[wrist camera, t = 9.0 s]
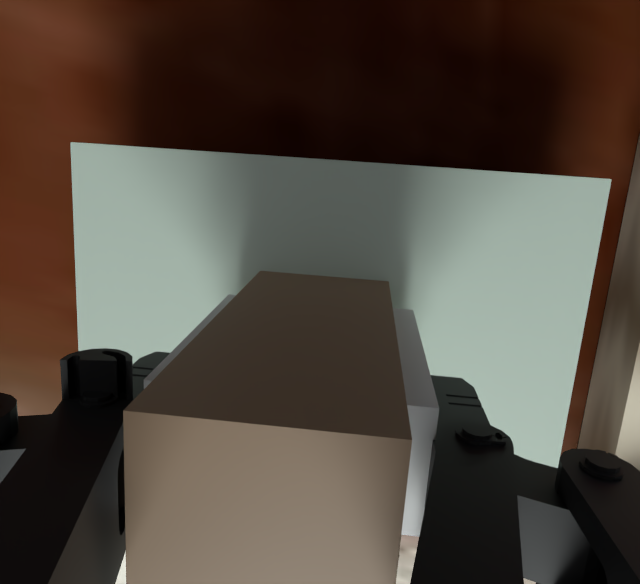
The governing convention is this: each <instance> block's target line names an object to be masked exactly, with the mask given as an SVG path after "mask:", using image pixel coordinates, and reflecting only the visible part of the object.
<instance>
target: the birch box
mask: <svg viewBox="0 0 640 584" xmlns="http://www.w3.org/2000/svg"><path fill="white" fill-rule="evenodd" d="M577 449H591V450H602V451H606V453H608V452H609V453H612V454H614V455H617V456H618V457H619V458H621V459H623V460H625V461H627V462H629V463H630V464H632V465H633V466H634V467H635V468H637V469H638V470H639V471H640V134H639V139H638V144H637V150H636V155H635V160H634V165H633V170H632V175H631V180H630V185H629V190H628V195H627V200H626V205H625V210H624V215H623V220H622V225H621V230H620V235H619V241H618V246H617V251H616V256H615V261H614V266H613V271H612V276H611V281H610V286H609V291H608V296H607V301H606V306H605V311H604V316H603V321H602V326H601V332H600V337H599V342H598V347H597V352H596V357H595V362H594V367H593V372H592V377H591V382H590V387H589V392H588V397H587V402H586V407H585V412H584V417H583V423H582V428H581V433H580V438H579V443H578V448H577Z"/></svg>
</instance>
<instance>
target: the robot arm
mask: <svg viewBox="0 0 640 584" xmlns="http://www.w3.org/2000/svg"><path fill="white" fill-rule="evenodd" d="M235 296H236V295H231V294H228V295H227V296H226V297H225V298H224V299H223V300H222V301H221V303H220V304H219V305H218V306H217V307H216V308H215V309H214V310H213V311H212V312H211V313H210V314H209V315H208V316H207V317H206V318H205V319H204V320H203V321H202V322H201V323H200V324H199V325H198V326H197V327H196V328H195V329H194V330H193V331H192V332H191V333H190V334H189V335H188V336H187V337H186V338H185V339H184V340H183V341H182V342H181V343H180V344H179V345H178V346H177V347H176V348H175V349H174V350H173V351H172V352H171V353H168V352H157V351H156V352H153V353H151V354H148V355H146V356H143V357H141V358H139V359H138V360H137V361H136V362H135V363H134V364H133V361H132V355H130V354H129V353H128V352H125V351H122V350H118V349H108V348H100V349H88V350H82V351H77V352H75V353H72V354H69V355H67V356H65V357H64V358H62V359H61V360H60V366H61V384H62V401H61V402H60V404H59V405H58V407H57V408H56V409H55V411H54V412H53V413H52V414H48V415H32V416H18V412H17V400H16V399H15V398H14V397H13V396H11V395H8V394H4V393H0V584H115V582H116V579H117V576H118V573H119V569H120V566H121V563H122V560H123V557H124V553H125V550H126V534H125V482H124V429H123V410H124V409H125V408H126V407H127V406H128V405H129V404H130V403H131V402H132V401H133V400H134V399H135V398H136V397H137V396H138V395H139V394H140V393H141V392H142V391H143V390H144V389H145V388H146V387H147V386H148V385H149V384H150V383H151V382H152V381H153V380H154V379H155V378H156V377H157V376H158V374H159V373H160V372H161V371H162V370H163V369H164V368H165V367H166V366H167V365H168V364H169V363H170V362H171V361H172V360H173V359H174V358H175V357H176V356H177V355H178V354H179V353H180V352H181V351H182V350H183V349H184V348H185V347H186V346H187V345H188V344H189V343H190V342H191V341H192V340H193V339H194V338H195V337H196V336H197V335H198V334H199V333H200V332H201V331H202V330H203V329H204V328H205V327H206V325H207V324H208V323H209V322H210V321H211V320H212V319H213V318H214V317H215V316H216V315H217V314H218V313H219V312H220V311H221V310H222V309H223V308H224V307H225V306H226V305H227V304H228V303H229V302H230V301H231V300H232V299H233V298H234V297H235ZM393 314H394V320H395V327H396V334H397V341H398V347H399V354H400V361H401V368H402V375H403V381H404V388H405V395H406V402H407V408H408V415H409V422H410V429H411V435H412V446H411V455H410V463H409V472H408V481H407V489H406V498H405V507H404V515H403V524H402V533H401V535H410V536H418V537H419V541H418V547H417V552H416V557H415V562H414V567H413V573H412V578H411V583H410V584H524V580H523V578H525V579H528V580H531V581H534V582H536V584H640V471H639V470H638V469H637V468H635V467H634V466H633V465H632V464H630V463H629V462H627V461H625V460H623V459H621V458H619V457H618V456H617V455H614V454H612V453H609V452H608V453H606V451H602V450H591V449H571V450H568V451H565V452H563V454H562V455H561V457H560V459H559V464H558V468H555V467H552V466H548V465H544V464H540V463H537V462H533V461H530V460H527V459H524V458H522V457H520V456H518V455H515V454H514V446H513V442H512V440H511V438H510V437H509V436H508V435H507V434H505V433H504V432H503V431H502V430H500V429H497V428H495V427H493V426H491V425H490V423H489V421H488V418H487V416H486V414H485V412H484V409H483V408H482V405H481V402H480V400H479V399H478V395H477V393H476V391H475V389H474V387H473V386H472V385H470V384H469V383H468V382H466V381H465V380H464V379H462V378H457V377H446V376H435V375H430V371H429V368H428V364H427V360H426V356H425V353H424V349H423V345H422V341H421V337H420V334H419V330H418V326H417V322H416V319H415V315H414V311H413V310H410V309H398V308H393Z"/></svg>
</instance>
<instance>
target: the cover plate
mask: <svg viewBox="0 0 640 584" xmlns="http://www.w3.org/2000/svg"><path fill="white" fill-rule="evenodd" d="M71 168H72V194H73V220H74V246H75V271H76V297H77V323H78V349H79V351H82V350H88V349H100V348H108V349H118V350H122V351H125V352H128V353H129V354H130V355H132V361H133V364H134V363H135V362H136V361H137V360H138V359H139V358H141V357H143V356H146V355H148V354H151V353H153V352H156V351H157V352H168V353H171V352H172V351H173V350H174V349H175V348H176V347H177V346H178V345H179V344H180V343H181V342H182V341H183V340H184V339H185V338H186V337H187V336H188V335H189V334H190V333H191V332H192V331H193V330H194V329H195V328H196V327H197V326H198V325H199V324H200V323H201V322H202V321H203V320H204V319H205V318H206V317H207V316H208V315H209V314H210V313H211V312H212V311H213V310H214V309H215V308H216V307H217V306H218V305H219V304H220V303H221V301H222V300H223V299H224V298H225V297H226V296H227V295H228V294H231V295H236V296H235V297H234V298H233V299H232V300H231V301H230V302H229V303H228V304H227V305H226V306H225V307H224V308H223V309H222V310H221V311H220V312H219V313H218V314H217V315H216V316H215V317H214V318H213V319H212V320H211V321H210V322H209V323H208V324H207V325H206V327H205V328H204V329H203V330H202V331H201V332H200V333H199V334H198V335H197V336H196V337H195V338H194V339H193V340H192V341H191V342H190V343H189V344H188V345H187V346H186V347H185V348H184V349H183V350H182V351H181V352H180V353H179V354H178V355H177V356H176V357H175V358H174V359H173V360H172V361H171V362H170V363H169V364H168V365H167V366H166V367H165V368H164V369H163V370H162V371H161V372H160V373H159V374H158V376H157V377H156V378H155V379H154V380H153V381H152V382H151V383H150V384H149V385H148V386H147V387H146V388H145V389H144V390H143V391H142V392H141V393H140V394H139V395H138V396H137V397H136V398H135V399H134V400H133V401H132V402H131V403H130V404H129V405H128V406H127V407H126V408H125V409H124V410H123V429H124V482H125V534H126V584H396V576H397V567H398V558H399V550H400V541H401V533H402V524H403V515H404V507H405V498H406V489H407V481H408V472H409V463H410V455H411V446H412V435H411V429H410V422H409V415H408V408H407V402H406V395H405V388H404V381H403V375H402V368H401V361H400V354H399V347H398V341H397V334H396V327H395V320H394V314H393V308H398V309H410V310H413V311H414V315H415V319H416V322H417V326H418V330H419V334H420V337H421V341H422V345H423V349H424V353H425V356H426V360H427V364H428V368H429V371H430V375H435V376H446V377H457V378H462V379H464V380H465V381H466V382H468V383H469V384H470V385H472V386H473V387H474V389H475V391H476V393H477V395H478V399H479V400H480V402H481V405H482V408H483V409H484V412H485V414H486V416H487V418H488V421H489V423H490V425H491V426H493V427H495V428H497V429H500V430H502V431H503V432H504V433H505V434H507V435H508V436H509V437H510V438H511V440H512V442H513V446H514V454H515V455H518V456H520V457H522V458H524V459H527V460H530V461H533V462H537V463H540V464H544V465H548V466H552V467H555V468H558V464H559V459H560V454H561V449H562V443H563V438H564V432H565V427H566V422H567V416H568V411H569V406H570V400H571V395H572V389H573V384H574V379H575V373H576V368H577V363H578V357H579V352H580V346H581V341H582V336H583V330H584V325H585V320H586V314H587V309H588V303H589V298H590V293H591V287H592V282H593V277H594V271H595V266H596V260H597V255H598V250H599V244H600V239H601V234H602V228H603V223H604V218H605V212H606V207H607V201H608V196H609V191H610V185H611V180H612V179H604V178H592V177H578V176H563V175H549V174H534V173H519V172H505V171H490V170H476V169H461V168H446V167H432V166H417V165H402V164H388V163H373V162H359V161H344V160H329V159H315V158H300V157H285V156H271V155H256V154H242V153H227V152H212V151H198V150H183V149H168V148H154V147H139V146H125V145H110V144H95V143H77V142H71Z"/></svg>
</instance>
